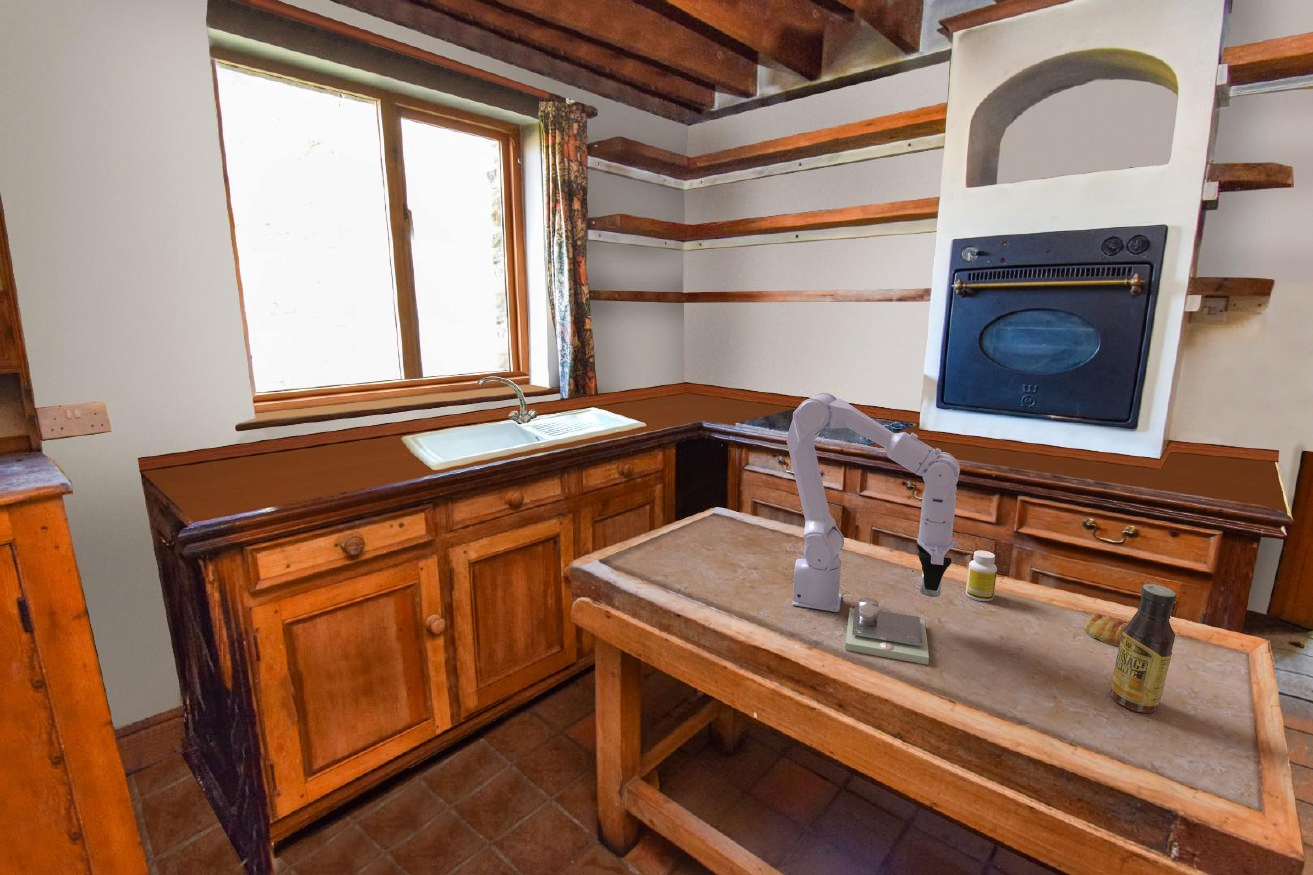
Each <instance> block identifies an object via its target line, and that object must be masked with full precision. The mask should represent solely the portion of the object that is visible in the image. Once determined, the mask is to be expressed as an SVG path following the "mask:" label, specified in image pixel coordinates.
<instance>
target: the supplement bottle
mask: <svg viewBox="0 0 1313 875" xmlns="http://www.w3.org/2000/svg"><path fill="white" fill-rule="evenodd" d="M995 559H996V555H995V553H992V552H990V551H988V550H987V551H986V550H975V551H974V553H973V560H971V561H970V562H969V564H968V569H967V577H966V587H965V594H966V596H967V597H969V598H971V599H973V600H975V601H979V602H991V601H993V600H994V596H995V589H996V588H995V587H996V582H997V574H998V568H997V565H996V564H995V562H996V561H995Z"/></svg>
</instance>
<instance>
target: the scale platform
mask: <svg viewBox="0 0 1313 875" xmlns="http://www.w3.org/2000/svg"><path fill="white" fill-rule="evenodd" d="M854 608H855V611H854V621H853V631H852V635H858V636H863V637H869V638H875V639H881V640H887V641H893V642H899V643H904V644H910V645H916V646H922V644H923V643H922V634H921V624H920V619H921V618H920V617H921V616H915V615H910V614H909V615H908V614H903V613H895V612H890V611H884V610H878V620H877V624H876V625H874V626H867V625H863V624H861V623H859V622H858V607H857V606H855V607H854Z"/></svg>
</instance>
